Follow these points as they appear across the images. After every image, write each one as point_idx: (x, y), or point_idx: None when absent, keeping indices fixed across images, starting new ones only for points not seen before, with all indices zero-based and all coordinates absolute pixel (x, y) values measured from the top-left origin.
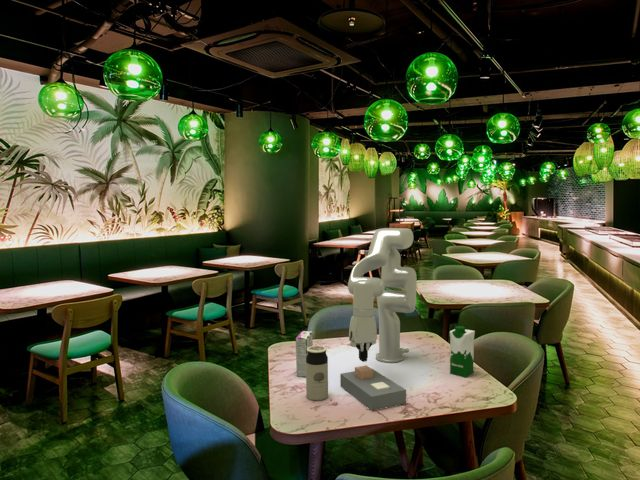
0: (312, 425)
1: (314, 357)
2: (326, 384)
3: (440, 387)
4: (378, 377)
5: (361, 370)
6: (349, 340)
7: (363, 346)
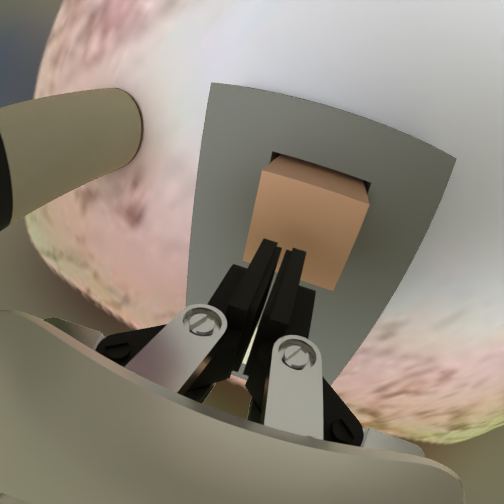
0: (67, 263)
1: None
2: (87, 181)
3: (490, 363)
4: (354, 285)
5: (256, 251)
6: (1, 313)
7: (267, 371)
